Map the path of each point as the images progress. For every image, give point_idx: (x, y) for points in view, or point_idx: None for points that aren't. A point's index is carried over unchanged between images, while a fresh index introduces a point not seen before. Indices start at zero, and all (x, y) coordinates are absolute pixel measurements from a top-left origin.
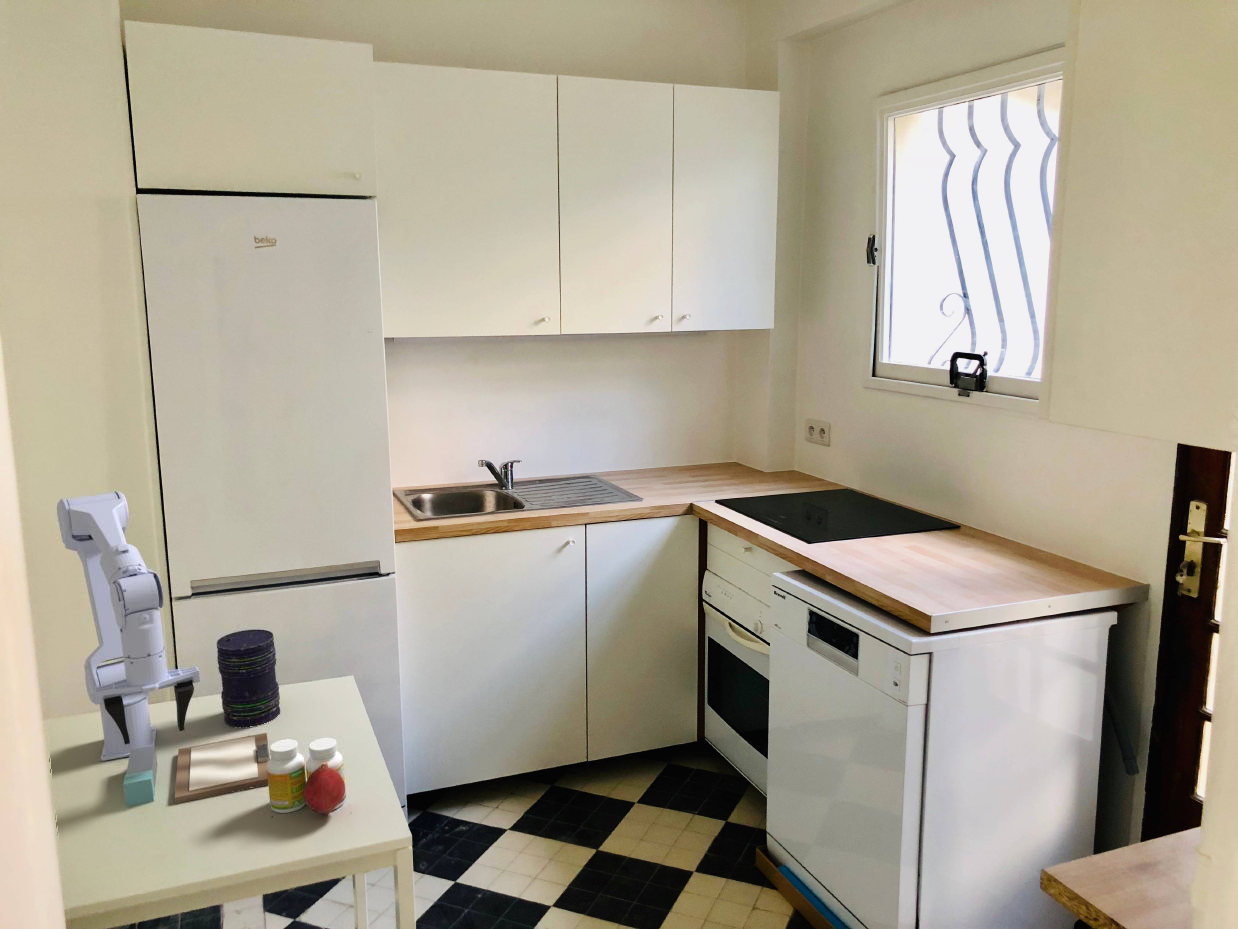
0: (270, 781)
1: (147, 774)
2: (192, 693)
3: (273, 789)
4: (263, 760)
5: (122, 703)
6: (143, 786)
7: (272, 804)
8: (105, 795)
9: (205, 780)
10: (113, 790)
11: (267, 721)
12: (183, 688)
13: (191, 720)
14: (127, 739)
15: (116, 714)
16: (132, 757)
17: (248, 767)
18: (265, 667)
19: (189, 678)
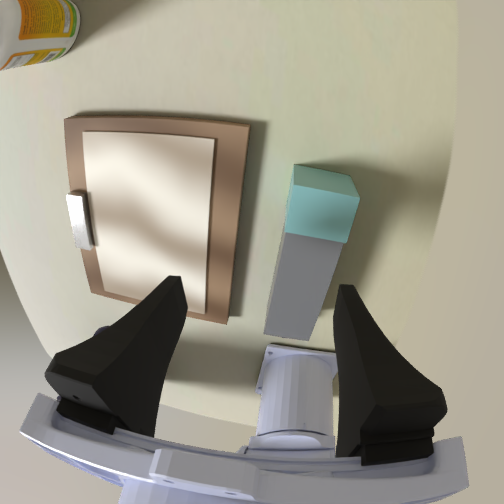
0: (35, 6)
1: (298, 214)
2: (56, 354)
3: (44, 1)
4: (76, 192)
5: (367, 427)
6: (313, 182)
7: (70, 8)
8: (372, 248)
9: (177, 167)
10: (355, 259)
11: (103, 328)
12: (80, 395)
13: (208, 385)
14: (348, 293)
15: (402, 377)
16: (312, 313)
17: (99, 181)
18: (61, 397)
19: (67, 427)
